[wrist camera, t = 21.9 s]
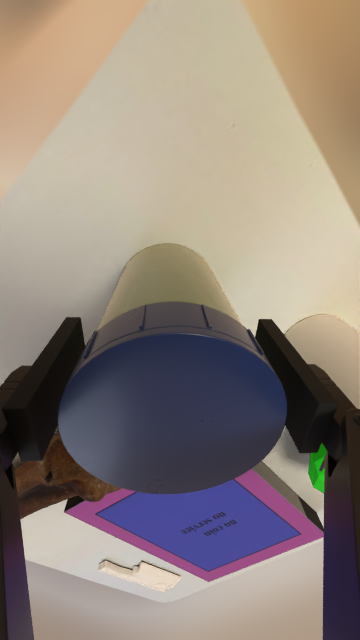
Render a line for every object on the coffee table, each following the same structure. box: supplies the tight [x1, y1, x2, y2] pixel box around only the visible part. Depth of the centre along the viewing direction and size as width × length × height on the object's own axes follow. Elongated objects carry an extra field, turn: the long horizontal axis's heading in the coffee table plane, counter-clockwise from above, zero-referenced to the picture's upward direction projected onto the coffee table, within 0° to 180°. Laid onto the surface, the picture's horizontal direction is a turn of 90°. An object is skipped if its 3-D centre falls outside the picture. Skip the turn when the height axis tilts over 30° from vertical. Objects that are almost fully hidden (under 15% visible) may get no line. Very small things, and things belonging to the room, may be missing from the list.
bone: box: [15, 434, 121, 519], centre depth 28 cm, size 9×8×30 cm
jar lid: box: [57, 302, 287, 494], centre depth 11 cm, size 8×8×2 cm
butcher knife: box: [98, 561, 181, 592], centre depth 45 cm, size 5×15×1 cm, turn 42°
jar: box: [97, 244, 242, 331], centre depth 16 cm, size 8×8×13 cm
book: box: [64, 461, 324, 582], centre depth 35 cm, size 21×3×30 cm
